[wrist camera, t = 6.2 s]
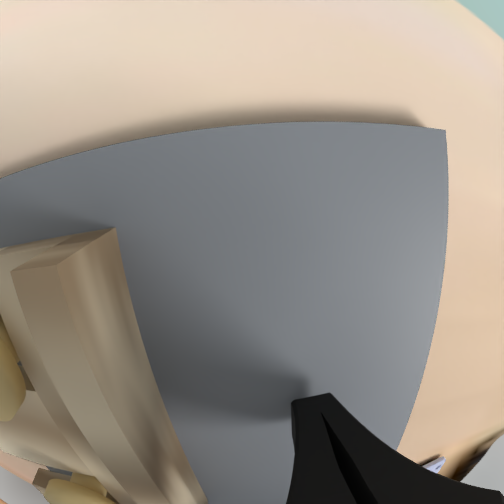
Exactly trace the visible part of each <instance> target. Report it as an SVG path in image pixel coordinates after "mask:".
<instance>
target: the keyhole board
mask: <svg viewBox="0 0 504 504" xmlns="http://www.w3.org/2000/svg"><path fill="white" fill-rule="evenodd" d="M115 227H116V232H117V237H118V243H119V248H120V253H121V258H122V263H123V267H124V272H125V276H126V281H127V285H128V289H129V293H130V297H131V301H132V305H133V309H134V313H135V316H136V320H137V324H138V327H139V331H140V334H141V338H142V341H143V344H144V347H145V351H146V354H147V357H148V360H149V363H150V366H151V369H152V372H153V375H154V378H155V381H156V384H157V386H158V389H159V392H160V395H161V397H162V400H163V403H164V405H165V408H166V410H167V413H168V416H169V418H170V421H171V423H172V425H173V428H174V430H175V433H176V435H177V437H178V440H179V442H180V444H181V446H182V449H183V451H184V453H185V455H186V457H187V460H188V462H189V464H190V466H191V468H192V470H193V472H194V474H195V476H196V478H197V480H198V482H199V484H200V486H201V488H202V490H203V492H204V494H205V496H206V498H207V499H208V504H286V501H287V497H288V493H289V488H290V483H291V478H292V472H293V464H294V456H295V451H294V444H293V438H292V425H291V402H292V401H293V400H295V399H301V398H306V397H311V396H316V395H320V394H325V393H329V392H330V393H331V394H333V395H334V397H335V398H336V399H337V400H338V401H339V402H340V403H341V404H342V405H343V406H344V407H345V408H346V409H347V410H348V411H349V412H350V413H351V414H352V415H353V416H354V417H355V418H356V419H357V420H358V421H359V422H360V423H361V424H362V425H364V426H365V427H366V428H367V429H368V430H369V431H371V432H372V433H373V434H374V435H375V436H377V437H378V438H379V439H380V440H382V441H383V442H384V443H386V444H387V445H388V446H390V447H391V448H392V449H394V450H395V451H396V450H397V448H398V445H399V443H400V440H401V438H402V435H403V433H404V430H405V428H406V425H407V422H408V420H409V417H410V414H411V411H412V409H413V406H414V403H415V400H416V397H417V393H418V390H419V387H420V384H421V380H422V377H423V373H424V370H425V366H426V362H427V358H428V354H429V350H430V346H431V342H432V337H433V333H434V328H435V323H436V318H437V313H438V307H439V301H440V295H441V288H442V281H443V273H444V264H445V255H446V243H447V227H448V158H447V142H446V131H445V130H441V129H434V128H426V127H417V126H406V125H395V124H381V123H362V122H283V123H264V124H249V125H237V126H226V127H217V128H208V129H200V130H192V131H185V132H178V133H172V134H166V135H160V136H154V137H148V138H143V139H138V140H133V141H128V142H123V143H118V144H114V145H109V146H105V147H101V148H97V149H93V150H89V151H85V152H81V153H77V154H74V155H70V156H66V157H63V158H59V159H56V160H53V161H49V162H46V163H43V164H40V165H37V166H34V167H31V168H28V169H25V170H22V171H19V172H16V173H14V174H11V175H8V176H6V177H3V178H0V248H4V247H9V246H14V245H19V244H24V243H29V242H34V241H39V240H44V239H50V238H55V237H61V236H67V235H72V234H78V233H84V232H90V231H96V230H102V229H108V228H115ZM18 365H20V366H22V364H21V361H20V359H19V357H18V355H17V353H16V351H15V348H14V346H13V344H12V342H11V339H10V337H9V334H8V332H7V330H6V327H5V324H4V322H3V319H2V317H1V314H0V421H5V422H6V421H10V420H11V419H12V418H13V417H14V416H15V414H16V412H17V411H18V409H19V408H20V406H21V405H22V403H23V402H24V400H25V397H26V387H25V382H24V378H23V376H22V373H21V370H20V368H19V366H18ZM46 467H47V468H48V469H49V470H50V471H52V472H56V473H60V474H64V475H69V476H71V479H70V481H66V480H61V479H51V480H49V482H48V484H47V487H46V490H45V493H44V497H45V499H46V500H47V501H48V502H49V503H50V504H116V503H114V502H113V501H111V500H110V499H108V498H106V494H107V490H106V489H105V487H104V486H103V485H102V484H101V483H100V482H99V481H98V480H97V478H96V477H95V476H90V475H84V474H79V473H74V472H70V471H65V470H61V469H57V468H53V467H49V466H46Z"/></svg>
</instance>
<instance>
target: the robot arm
mask: <svg viewBox="0 0 504 504" xmlns="http://www.w3.org/2000/svg"><path fill="white" fill-rule="evenodd" d="M291 425H292V438H293V444H294V451H295V456H294V464H293V472H292V478H291V483H290V488H289V493H288V497H287V501H286V504H504V496H503V495H502V494H501V492H500V491H496V490H490V489H485V488H480V487H476V486H471V485H468V484H465V483H461V482H458V481H455V480H452V479H450V478H447V477H445V476H442V475H440V474H437V473H438V471H439V470H440V468H441V467H442V465H443V464H444V462H445V460H446V459H445V458H444V456H443V457H440V458H438V459H436V460H434V461H432V462H430V463H428V464H425V465H423V466H420V465H418V464H417V463H415V462H413V461H411V460H410V459H408V458H406V457H405V456H403V455H401V454H400V453H398V452H397V451H395V450H394V449H392V448H391V447H390V446H388V445H387V444H386V443H384V442H383V441H382V440H380V439H379V438H378V437H377V436H375V435H374V434H373V433H372V432H371V431H369V430H368V429H367V428H366V427H365V426H364V425H362V424H361V423H360V422H359V421H358V420H357V419H356V418H355V417H354V416H353V415H352V414H351V413H350V412H349V411H348V410H347V409H346V408H345V407H344V406H343V405H342V404H341V403H340V402H339V401H338V400H337V399H336V398H335V397H334V395H333V394H331V393H330V392H329V393H325V394H320V395H316V396H311V397H306V398H301V399H295V400H293V401H292V402H291Z"/></svg>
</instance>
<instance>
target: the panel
mask: <svg viewBox="0 0 504 504" xmlns="http://www.w3.org/2000/svg"><path fill="white" fill-rule="evenodd" d="M0 314H1V317H2V319H3V322H4V324H5V327H6V330H7V332H8V334H9V337H10V339H11V342H12V344H13V346H14V348H15V351H16V353H17V355H18V357H19V359H20V361H21V364H22V366H20V365H18V366H19V368H20V370H21V373H22V376H23V378H24V382H25V387H26V397H25V400H24V402H23V403H22V405H21V406H20V408H19V409H18V411H17V412H16V414H15V416H14V417H13V418H12V419H11V420H10V421H6V422H5V421H0V449H1V450H2V451H3V452H5V453H8V454H10V455H13V456H16V457H19V458H22V459H25V460H28V461H32V462H35V463H38V464H42V465H45V466H49V467H53V468H57V469H61V470H65V471H70V472H74V473H79V474H84V475H90V476H95V477H96V478H97V480H98V481H99V482H100V483H101V484H102V485H103V486H104V487H105V489H106V490H107V494H106V498H108V499H110V500H111V501H113V502H114V503H116V504H208V499H207V498H206V496H205V494H204V492H203V490H202V488H201V486H200V484H199V482H198V480H197V478H196V476H195V474H194V472H193V470H192V468H191V466H190V464H189V462H188V460H187V457H186V455H185V453H184V451H183V449H182V446H181V444H180V442H179V440H178V437H177V435H176V433H175V430H174V428H173V425H172V423H171V421H170V418H169V416H168V413H167V410H166V408H165V405H164V403H163V400H162V397H161V395H160V392H159V389H158V386H157V384H156V381H155V378H154V375H153V372H152V369H151V366H150V363H149V360H148V357H147V354H146V351H145V347H144V344H143V341H142V338H141V334H140V331H139V327H138V324H137V320H136V316H135V313H134V309H133V305H132V301H131V297H130V293H129V289H128V285H127V281H126V276H125V272H124V267H123V263H122V258H121V253H120V248H119V243H118V237H117V232H116V227H115V228H108V229H102V230H96V231H90V232H84V233H78V234H72V235H67V236H61V237H55V238H50V239H44V240H39V241H34V242H29V243H24V244H19V245H14V246H9V247H4V248H0ZM51 479H61V480H66V481H70V479H71V476H69V475H64V474H60V473H56V472H52V471H49V470H45V469H42V468H39V469H38V471H37V473H36V476H35V478H34V481H33V483H32V484H33V485H34V486H35V487H36V488H37V489H38V490H39V491H40V492H41V493H42V494H43V495H44V493H45V490H46V487H47V484H48V482H49V480H51Z"/></svg>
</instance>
